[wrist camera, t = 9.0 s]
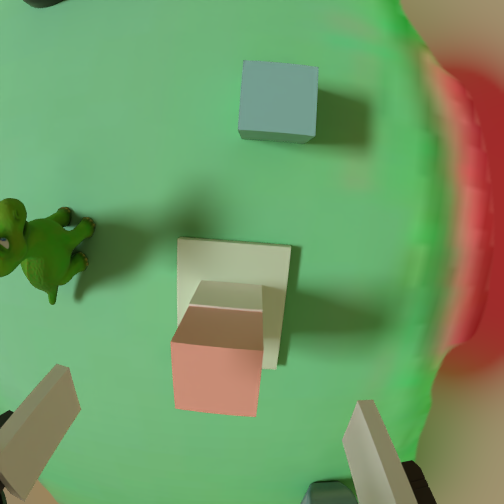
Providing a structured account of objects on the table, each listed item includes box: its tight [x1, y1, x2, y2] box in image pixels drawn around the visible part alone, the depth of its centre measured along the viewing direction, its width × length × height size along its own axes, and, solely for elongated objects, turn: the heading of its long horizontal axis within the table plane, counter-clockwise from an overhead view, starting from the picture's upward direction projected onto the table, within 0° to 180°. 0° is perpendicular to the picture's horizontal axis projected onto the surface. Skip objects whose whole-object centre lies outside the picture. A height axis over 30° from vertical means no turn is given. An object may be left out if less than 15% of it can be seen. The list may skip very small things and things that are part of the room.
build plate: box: [177, 237, 291, 369], centre depth 29 cm, size 14×11×7 cm
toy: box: [0, 198, 95, 305], centre depth 24 cm, size 6×14×15 cm, turn 157°
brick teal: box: [238, 60, 318, 144], centre depth 25 cm, size 6×6×6 cm
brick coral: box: [171, 306, 264, 417], centre depth 23 cm, size 6×6×6 cm
